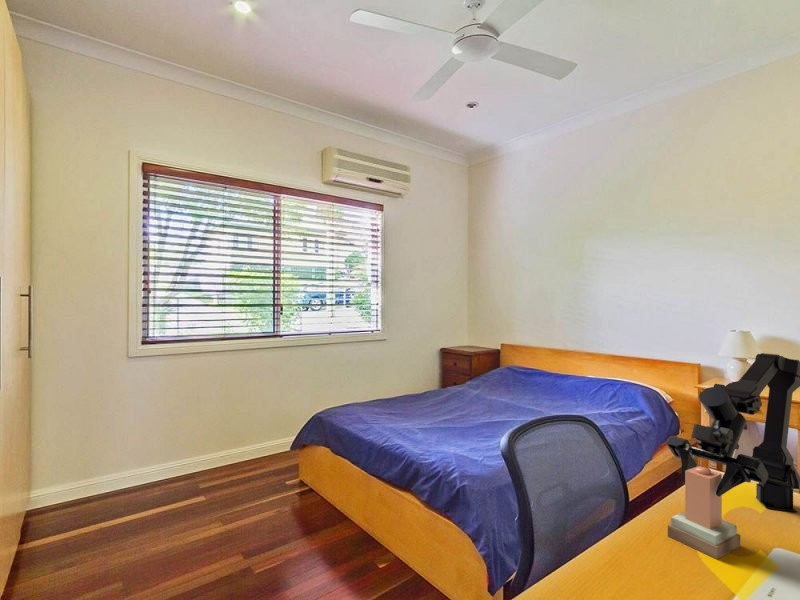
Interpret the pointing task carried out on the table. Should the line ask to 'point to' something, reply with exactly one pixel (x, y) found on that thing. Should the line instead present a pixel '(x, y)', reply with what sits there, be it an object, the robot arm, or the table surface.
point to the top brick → (703, 497)
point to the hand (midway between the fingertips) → (699, 489)
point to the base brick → (705, 536)
